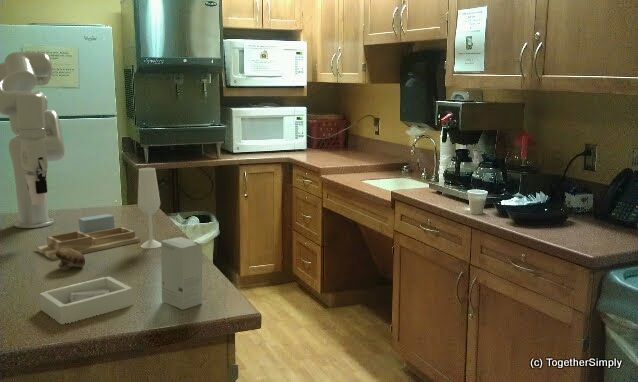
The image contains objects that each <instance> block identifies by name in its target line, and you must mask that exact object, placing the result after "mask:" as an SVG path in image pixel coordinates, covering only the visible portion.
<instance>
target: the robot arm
mask: <svg viewBox="0 0 638 382" xmlns="http://www.w3.org/2000/svg"><path fill="white" fill-rule="evenodd" d="M52 73H53V66H52V60H51V59H50V57H49V56H48V54H47V53H45V52H40V51H14V52H11V53H9V54H8V55H7V56H6V57H5V59H4V62H1V63H0V114H1V115H3V116H8V119H9V125H10V129H11V131H12V133H13V134H14V135H15V136H14V137H12V138H11V139H10V140H9V142H8V151H9V155H10V160H11V163H12V168H13V175H14V183H15V194H16V203H17V212H18V213H17V214H18V220H17V221H15V222H14V227H16V228H18V229H36V228H42V227H47V226H50V225H53V224H54V222H55V221H54V219H53V218H52V217H49V208H48V197H47V194H48V184H47V183H48V179H47V177H46V173H47V174H48V168H49V167H48V166H49V165H48V162H57V161H60V160H63V158H64V156H65V153H66V152H65V144H64V143H65V142H64V138H63V133H62V128H61V127H62V126H61V124H60V123H61V122H60V119H59V115H58V113H57V111H55V110H54V109H52V108H48V107H49V106H48V104H49V103H48V98H47V96H46V95H45V94H44V93H43V92H42V91H39V90H34V88H35V86H47V85H48V84H49V82H50V80H51V79H50V78H51V76H52ZM37 169H38V171H37ZM30 172H34V173H35V177H36V181H35V185H36V193H37V194H41V193H46V198H45V204H43V205H32V201H31V196H30V192H29V188H28V183H27V179H26V178H25V174H26V173H30ZM38 173H40V174H39V176H38Z"/></svg>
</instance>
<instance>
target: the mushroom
mask: <svg viewBox="0 0 638 382" xmlns="http://www.w3.org/2000/svg"><path fill="white" fill-rule="evenodd" d="M56 257H57V258H58V259H57V260H60V262H59V264H58V268H59V269H61V271H66V272H67V271H69V270H70V268H72V267H77V268H83V267H84V266H85V265H86V259H85V256H84V254H82V253H80V252H79V251H76V250H73V249H71V248H62V249H60V250H58V251H57V252H56Z"/></svg>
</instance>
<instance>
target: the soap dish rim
mask: <svg viewBox="0 0 638 382" xmlns="http://www.w3.org/2000/svg"><path fill="white" fill-rule="evenodd" d="M107 289H108V290H109V292H110V293H107V294H103V295H99V296H95V297H91V298H87V299H84V300H80V301H76V302H72V303H69V297H70V293H71V292H75V293H76V292H83V291H96V290H107ZM133 297H134V296H133V287H131V286H129V285H127V284H126V283H123V282H121V281H119V280H117V279H116V278H113V277H111V276H104V277H100V278H94V279H90V280H87V281H83V282H78V283H74V284H70V285H66V286H61V287H57V288H54V289H50V290H46V291H44V292H39V301H40V308H41V309H40V310H41V311H42V312H43V313H45V314H46V315H47V316H49V317H51V319H53V320H54V319H55V320H54V321H56V322H57V323H59V324H60V325H61V324H63V325H66V324H68V323H69V324H72V323H71V322H73V323H75V321H76V322H79V321H78V320H80V321H83V320H86V319H85V318H87V319H90V318H93V316H94V317H96V315H97V316H100V314H101V315H104V314H107V313H110V312H114V311H117V310H122V309H126V308H128V307H130V306H133V305H134V298H133ZM89 317H90V318H89ZM82 319H83V320H82ZM65 323H66V324H65Z"/></svg>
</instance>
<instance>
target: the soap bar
mask: <svg viewBox="0 0 638 382" xmlns="http://www.w3.org/2000/svg"><path fill="white" fill-rule="evenodd" d="M107 293H110V292H109V290H108V289H107V290H96V291H83V292H76V293H75V292H71V293H70V297H69V303H72V302H76V301H80V300H84V299H87V298H91V297H95V296H99V295H103V294H107Z"/></svg>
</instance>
